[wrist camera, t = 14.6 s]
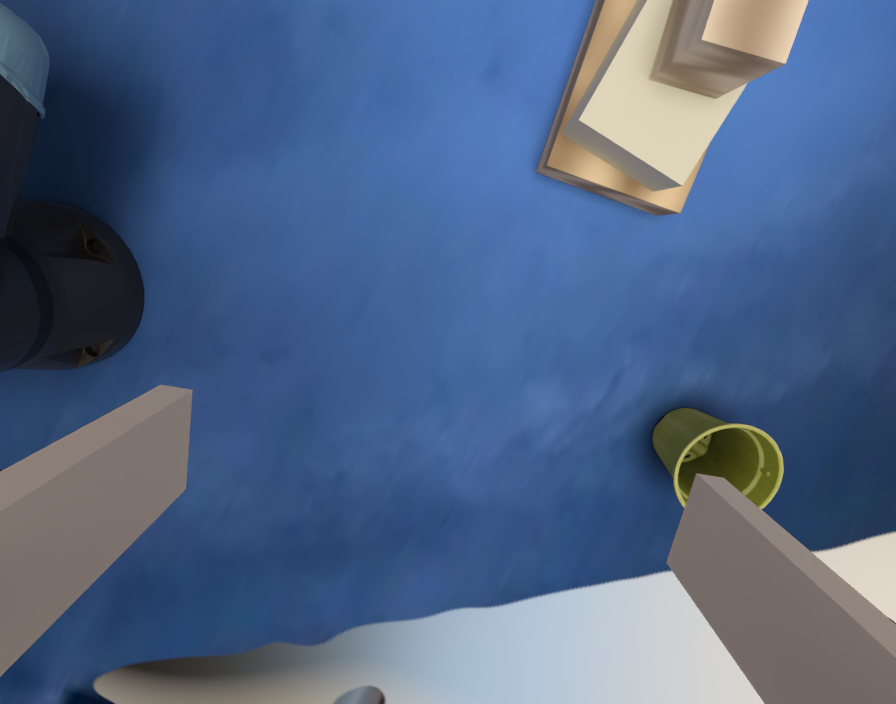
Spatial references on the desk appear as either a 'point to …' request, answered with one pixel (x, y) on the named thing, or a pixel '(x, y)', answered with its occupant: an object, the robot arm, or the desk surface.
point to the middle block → (645, 109)
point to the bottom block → (578, 163)
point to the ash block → (724, 43)
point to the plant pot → (718, 454)
